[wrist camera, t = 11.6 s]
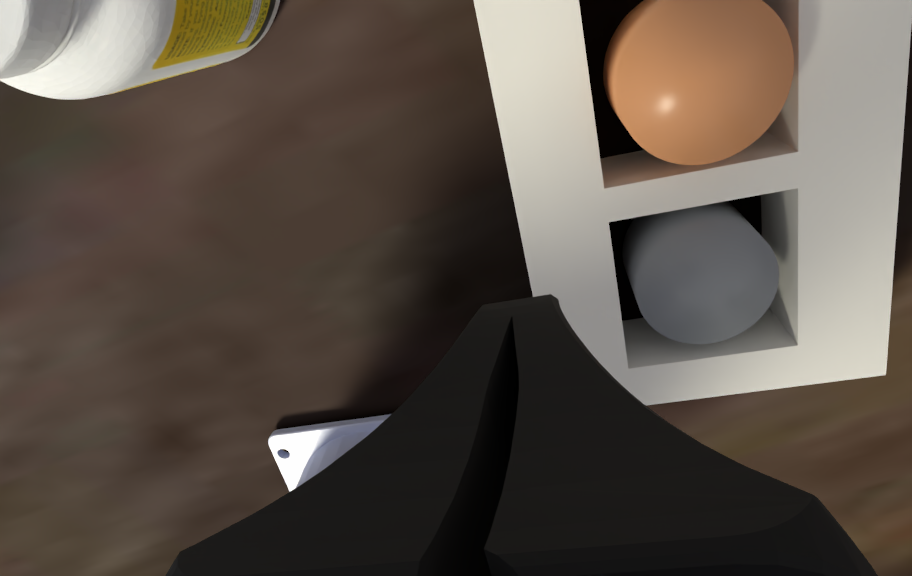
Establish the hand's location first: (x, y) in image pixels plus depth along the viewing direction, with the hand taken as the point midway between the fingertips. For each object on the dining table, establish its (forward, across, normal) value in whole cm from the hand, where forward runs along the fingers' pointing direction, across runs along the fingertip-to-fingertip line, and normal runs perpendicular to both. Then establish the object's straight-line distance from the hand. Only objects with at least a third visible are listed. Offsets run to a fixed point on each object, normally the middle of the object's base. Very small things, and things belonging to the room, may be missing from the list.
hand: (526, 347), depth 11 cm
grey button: (+10, -5, +3) cm, 12 cm away
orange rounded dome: (+9, -5, -3) cm, 11 cm away
